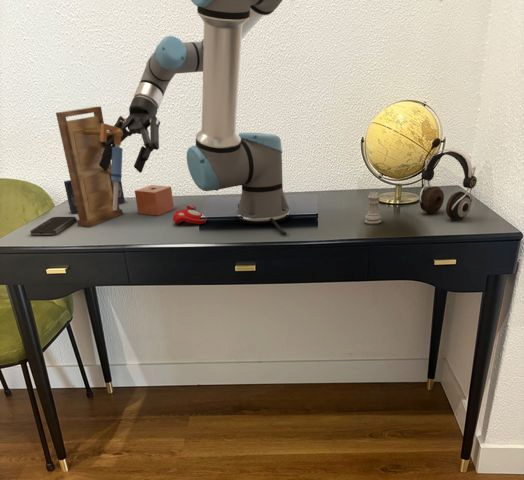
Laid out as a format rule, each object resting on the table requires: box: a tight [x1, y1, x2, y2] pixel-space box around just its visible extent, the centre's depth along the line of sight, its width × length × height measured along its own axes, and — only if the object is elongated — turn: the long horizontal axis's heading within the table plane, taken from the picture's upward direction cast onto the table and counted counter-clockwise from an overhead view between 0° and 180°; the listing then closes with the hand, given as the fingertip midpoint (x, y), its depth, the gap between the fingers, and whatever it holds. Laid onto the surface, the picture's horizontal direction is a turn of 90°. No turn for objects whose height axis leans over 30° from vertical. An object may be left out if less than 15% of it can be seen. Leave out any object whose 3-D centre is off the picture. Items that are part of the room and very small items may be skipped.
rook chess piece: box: [364, 191, 382, 226], centre depth 145 cm, size 4×4×8 cm
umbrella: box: [100, 122, 123, 210], centre depth 149 cm, size 8×3×22 cm, turn 151°
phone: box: [30, 216, 77, 236], centre depth 157 cm, size 8×1×15 cm
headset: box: [419, 137, 478, 221], centre depth 144 cm, size 17×8×20 cm, turn 34°
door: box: [55, 106, 124, 228], centre depth 153 cm, size 15×16×31 cm
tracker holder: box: [172, 203, 208, 225], centre depth 156 cm, size 12×4×10 cm
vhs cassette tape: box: [63, 179, 126, 214], centre depth 174 cm, size 18×3×10 cm, turn 128°
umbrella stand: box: [134, 184, 175, 216], centre depth 167 cm, size 8×8×7 cm
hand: (119, 168), depth 151 cm, fingers open, 12 cm apart
